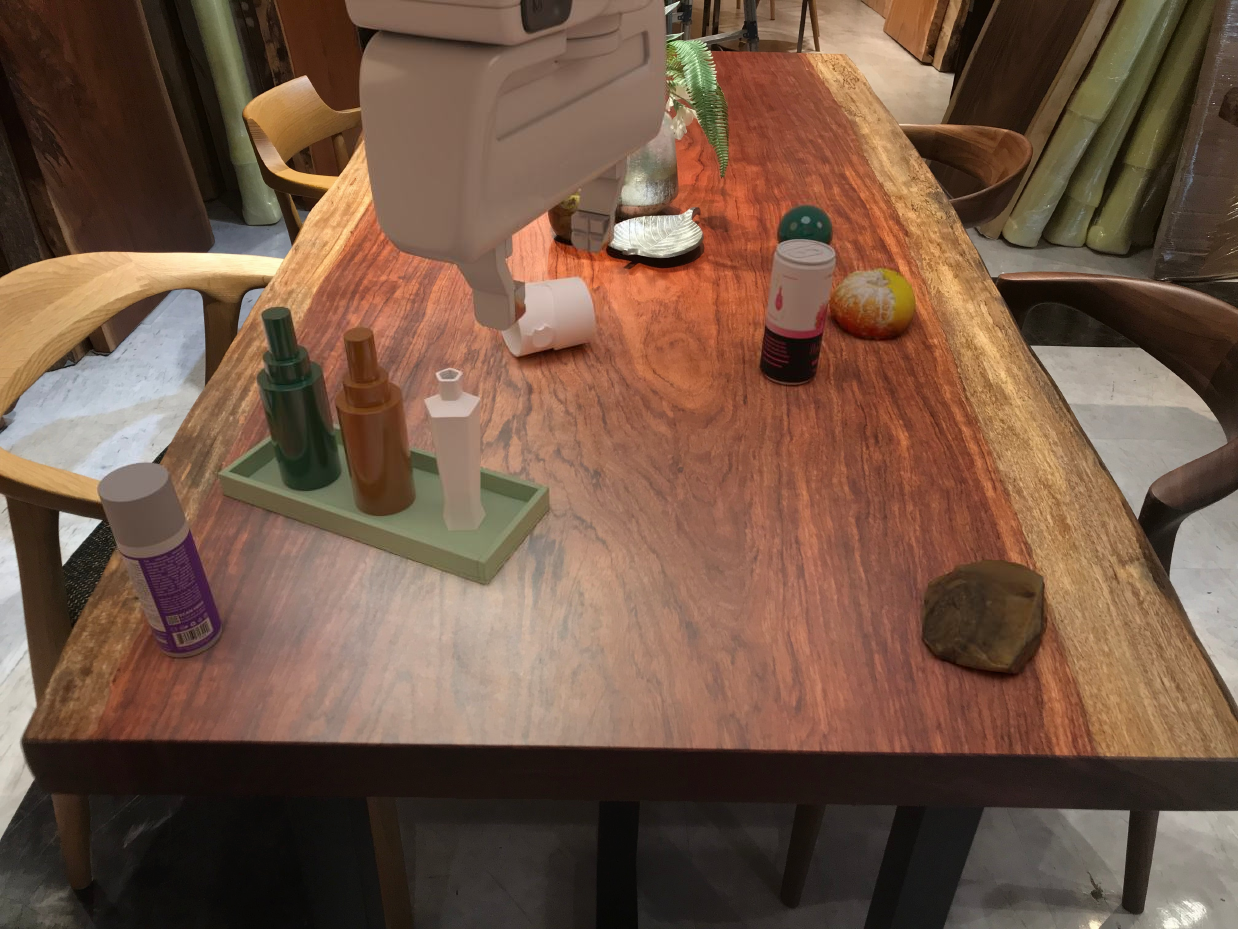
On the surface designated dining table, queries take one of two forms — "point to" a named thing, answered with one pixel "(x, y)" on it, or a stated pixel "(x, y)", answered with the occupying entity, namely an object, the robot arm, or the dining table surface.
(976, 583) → the decorative stone
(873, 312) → the fruit
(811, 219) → the sphere
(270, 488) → the tray
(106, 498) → the container
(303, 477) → the bottle
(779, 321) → the beverage can
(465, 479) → the perfume bottle
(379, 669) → the dining table surface
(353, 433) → the bottle
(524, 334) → the white hollow cylinder
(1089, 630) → the dining table surface
